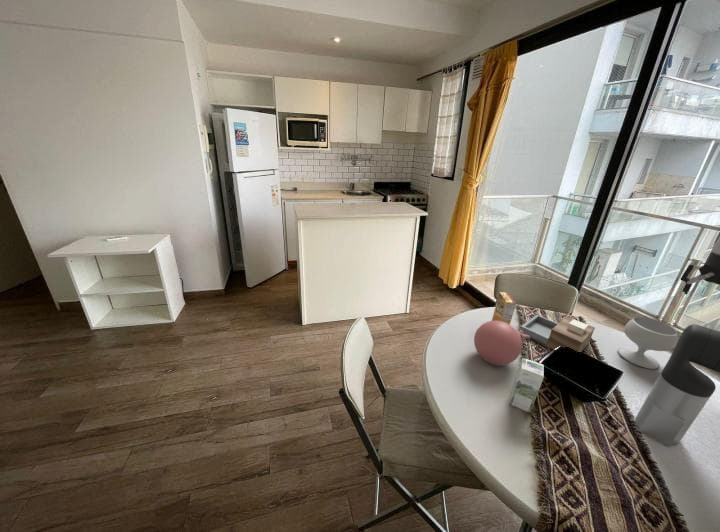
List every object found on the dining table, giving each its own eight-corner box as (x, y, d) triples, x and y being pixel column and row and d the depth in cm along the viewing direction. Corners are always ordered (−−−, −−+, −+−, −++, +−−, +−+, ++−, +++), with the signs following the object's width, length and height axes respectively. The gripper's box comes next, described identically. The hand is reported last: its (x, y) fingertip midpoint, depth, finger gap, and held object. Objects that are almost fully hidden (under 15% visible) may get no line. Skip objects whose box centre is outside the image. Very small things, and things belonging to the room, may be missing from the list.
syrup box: (530, 400, 90) (544, 363, 84) (530, 414, 85) (544, 376, 79) (510, 392, 92) (522, 356, 87) (508, 405, 87) (521, 367, 82)
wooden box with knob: (574, 359, 108) (582, 342, 105) (545, 346, 115) (551, 329, 112) (588, 344, 118) (595, 327, 115) (560, 332, 125) (566, 316, 122)
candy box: (490, 322, 130) (498, 291, 124) (500, 322, 130) (508, 292, 124) (497, 333, 122) (506, 301, 116) (507, 334, 121) (517, 302, 116)
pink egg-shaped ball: (537, 373, 101) (550, 337, 95) (482, 375, 99) (492, 338, 93) (512, 345, 115) (522, 312, 109) (463, 346, 113) (471, 312, 107)
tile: (582, 335, 109) (584, 329, 108) (567, 328, 113) (569, 323, 112) (586, 330, 112) (588, 325, 111) (571, 324, 116) (573, 319, 115)
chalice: (671, 375, 103) (692, 341, 97) (624, 365, 106) (641, 331, 101) (649, 351, 115) (666, 319, 109) (607, 343, 119) (622, 312, 113)
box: (545, 345, 115) (548, 338, 114) (519, 333, 123) (521, 326, 121) (560, 332, 125) (562, 325, 124) (534, 320, 132) (537, 314, 131)
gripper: (695, 249, 94) (672, 293, 100) (766, 262, 84) (736, 311, 90) (697, 245, 99) (675, 288, 105) (765, 258, 89) (736, 304, 95)
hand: (703, 298), depth 98 cm, fingers open, 8 cm apart
